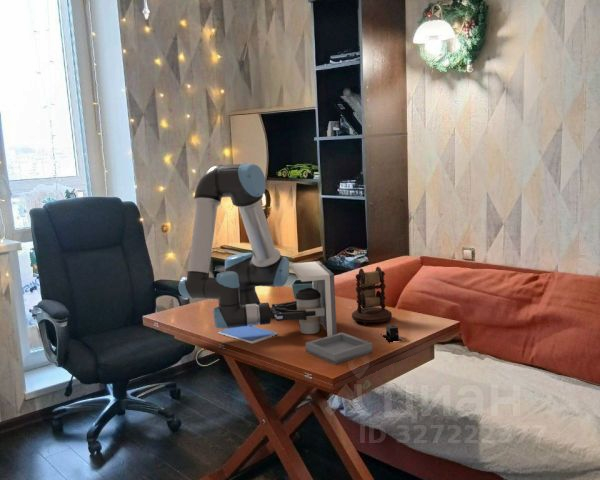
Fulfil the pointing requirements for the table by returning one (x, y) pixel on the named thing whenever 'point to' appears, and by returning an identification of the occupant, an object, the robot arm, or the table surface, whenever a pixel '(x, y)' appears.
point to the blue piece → (248, 333)
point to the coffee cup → (309, 300)
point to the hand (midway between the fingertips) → (321, 307)
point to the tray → (338, 348)
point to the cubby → (320, 290)
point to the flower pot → (301, 286)
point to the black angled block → (392, 333)
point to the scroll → (371, 297)
